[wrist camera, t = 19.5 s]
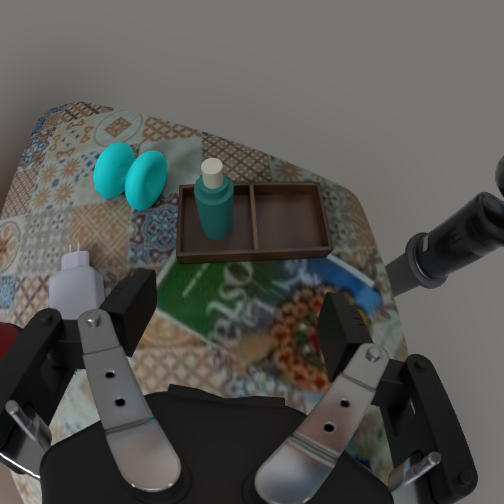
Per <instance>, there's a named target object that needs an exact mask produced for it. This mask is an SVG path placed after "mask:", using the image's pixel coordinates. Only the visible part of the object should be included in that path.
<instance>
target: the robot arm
mask: <svg viewBox="0 0 504 504" xmlns="http://www.w3.org/2000/svg"><path fill="white" fill-rule="evenodd" d="M495 182H496V185H497V187H498V189H499V190H500V192H501V194H502V195H503V197H504V156H503V157H502V159H501V160H500V161H499V163H498V165H497V167H496V171H495ZM500 247H504V201H502V200H500V199H499V198H497V197H496V196H494V195H492V194H490V193H488V192H481V193H479V194H478V195H476V196H475V197H474V198H473V199H472V200H470V201H469V202H468V203H467V204H465V205H464V206H463V207H462V208H460V209H459V210H458V211H457V212H455V213H454V214H453V215H452V216H450V217H449V218H448V219H446V220H445V221H444V222H443V223H441V224H440V225H439V226H437V227H436V228H435V229H433V230H432V231H431V232H429V233H428V234H427V235H425V236H424V237H422V238H420V239H419V240H418V241H417V242H416V243H415V245H414V249H413V259H414V263H415V265H416V268H417V270H418V271H419V273H420V274H421V275H422V276H423V277H424V278H426V279H427V280H430V281H437V280H439V279H441V278H442V277H445V276H447V275H449V274H451V273H453V272H455V271H457V270H459V269H461V268H463V267H465V266H467V265H469V264H470V263H472V262H474V261H476V260H478V259H480V258H482V257H484V256H485V255H487V254H489V253H491V252H493V251H494V250H496V249H498V248H500ZM156 305H157V289H156V273H155V270H151V269H144V268H139V269H138V270H137V271H136V272H135V274H134V275H133V276H132V277H129V276H128V277H126V278H124V279H122V280H121V281H119V283H118V284H117V285H116V286H115V289H113V290H112V291H111V294H109V295H108V296H107V298H106V299H105V300H104V301H103V303H102V304H101V305H100V307H99V308H98V309H91V310H88V311H85V312H84V313H82V314H81V315H80V316H79V318H78V320H68V319H62V316H61V313H60V312H59V311H58V310H57V309H54V308H47V309H43V310H41V311H39V312H37V313H36V314H35V315H34V317H33V318H32V319H31V320H30V321H29V323H28V324H27V325H26V326H25V328H24V329H23V330H22V331H21V333H20V334H19V335H18V337H17V338H16V339H15V340H14V342H13V343H12V344H11V346H10V347H9V348H8V350H7V351H6V353H5V354H4V355H3V357H2V358H1V359H0V462H1V463H3V464H4V465H6V466H8V467H9V468H10V469H11V470H12V471H14V472H15V473H17V474H27V475H29V476H31V477H33V478H34V479H36V480H38V481H40V483H41V490H42V504H453V503H455V502H457V501H459V500H460V499H462V498H464V497H466V496H467V495H469V494H470V493H471V492H473V491H474V489H475V488H476V485H477V481H478V475H477V471H476V468H475V465H474V462H473V459H472V456H471V453H470V450H469V447H468V444H467V442H466V439H465V436H464V434H463V431H462V428H461V426H460V423H459V421H458V419H457V416H456V414H455V411H454V409H453V407H452V404H451V402H450V400H449V398H448V395H447V394H446V392H445V389H444V387H443V385H442V383H441V380H440V378H439V376H438V374H437V372H436V370H435V368H434V366H433V364H432V363H431V362H430V360H429V359H427V358H426V357H424V356H422V355H419V354H412V355H410V356H408V358H407V359H406V361H405V362H402V361H397V360H393V359H390V358H389V355H388V353H387V351H386V350H385V349H384V348H382V347H381V346H379V345H377V344H374V343H373V341H372V339H371V337H370V334H369V332H368V330H367V328H366V326H365V324H364V321H363V320H362V317H361V315H360V313H359V311H358V310H357V309H356V308H355V307H354V306H353V305H349V304H348V303H347V301H346V299H345V297H344V295H343V294H341V293H330V292H327V293H326V295H325V298H324V301H323V305H322V308H321V311H320V314H319V317H318V322H317V332H318V336H319V340H320V344H321V349H322V353H323V357H324V361H325V365H326V370H327V374H328V378H329V382H333V383H332V385H331V386H330V387H329V389H328V390H327V391H326V393H325V394H324V395H323V397H322V398H321V399H320V401H319V402H318V403H317V404H316V406H315V407H314V408H313V410H312V411H311V412H310V413H309V415H308V416H307V415H305V414H304V413H302V412H300V411H298V410H296V409H294V408H291V407H288V406H285V398H280V397H264V396H251V397H242V398H231V399H226V398H222V397H219V396H216V395H213V394H211V393H208V392H205V391H202V390H200V389H197V388H191V387H185V386H179V385H174V384H170V385H169V388H168V391H163V392H155V393H151V394H147V395H144V396H143V393H142V391H141V389H140V387H139V385H138V383H137V380H136V378H135V376H134V374H133V371H132V369H131V367H130V364H129V362H128V359H127V357H126V356H128V357H132V355H133V353H134V351H135V349H136V347H137V345H138V343H139V341H140V339H141V337H142V335H143V333H144V331H145V329H146V327H147V325H148V323H149V321H150V319H151V317H152V315H153V313H154V311H155V309H156ZM46 356H47V357H48V358H47V359H46V361H45V362H44V364H43V366H42V367H41V364H42V362H43V360H44V359H45V357H46ZM76 369H86V372H87V376H88V380H89V384H90V387H91V391H92V394H93V398H94V401H95V404H96V407H97V410H98V414H99V417H100V419H101V420H99V421H98V422H96V423H94V424H92V425H90V426H89V427H87V428H85V429H83V430H81V431H79V432H77V433H75V434H73V435H72V436H70V437H68V438H66V439H64V440H62V441H60V442H58V443H56V444H54V445H53V446H51V441H52V434H51V431H50V429H49V425H50V423H51V420H52V418H53V416H54V414H55V411H56V409H57V407H58V405H59V403H60V401H61V399H62V397H63V394H64V392H65V390H66V388H67V386H68V384H69V382H70V380H71V378H72V376H73V374H74V373H75V371H76ZM411 403H413V406H414V409H415V415H414V412H413V409H412V406H411ZM370 404H371V405H375V406H379V407H380V411H381V414H382V418H383V422H384V426H385V431H386V435H387V439H388V443H389V448H390V452H391V457H392V462H393V467H394V470H392V472H391V473H390V475H389V477H388V485H387V486H386V485H385V484H384V483H383V482H382V481H380V480H379V479H378V478H377V477H375V476H374V475H373V474H372V473H371V472H369V471H368V470H367V469H366V468H365V467H364V466H362V465H361V464H360V463H359V462H358V461H357V460H356V459H354V458H353V457H352V456H351V455H350V454H349V453H348V452H347V451H345V450H344V449H345V447H346V446H347V444H348V443H349V441H350V439H351V438H352V436H353V434H354V432H355V431H356V429H357V427H358V426H359V424H360V422H361V420H362V418H363V417H364V415H365V413H366V411H367V409H368V407H369V405H370Z"/></svg>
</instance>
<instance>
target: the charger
mask: <svg viewBox="0 0 504 504" xmlns="http://www.w3.org/2000/svg"><path fill="white" fill-rule="evenodd" d="M49 300H50V308H54V309H57V310H58V311H59V312H60V313H61V316H62V319H68V320H78V318H79V316H80V315H81V314H82V313H84V312H85V311H88V310H91V309H98V308H99V307H100V305H101V304H102V303H103V301H104V300H105V294H104V282H103V276H102V275H101V274H100V273H99V272H97V271H96V270H95V269H93V268H92V267H91V266H89V251H80V242H79V241H78V242H77V251H75V252H72V244H70V245H69V253H68V254H65V255H64V256H63V257H62V271H61V272H57V273H54V274H53V275H52V277H51V278H50V279H49Z"/></svg>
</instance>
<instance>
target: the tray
mask: <svg viewBox="0 0 504 504" xmlns="http://www.w3.org/2000/svg"><path fill="white" fill-rule="evenodd" d="M194 186H195V184H191V185H180V187H179V201H178V219H177V244H176V257H177V259H178V260H179V262H180V264H191V263H217V262H240V261H263V260H285V259H306V258H326V257H327V256H328V254H329V253H330V252H331V251H332V250H333V247H332V242H331V236H330V231H329V226H328V221H327V216H326V211H325V206H324V201H323V197H322V192H321V188H320V183H315V182H240V183H233V186H234V192H233V228H232V231H231V233H230V234H229V235H228V236H227V237H226V238H224V239H222V240H212V239H209V238H208V237H206V236H205V235H204V233H203V231H202V228H201V223H200V218H199V214H198V209H197V204H196V199H195V194H194Z"/></svg>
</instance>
